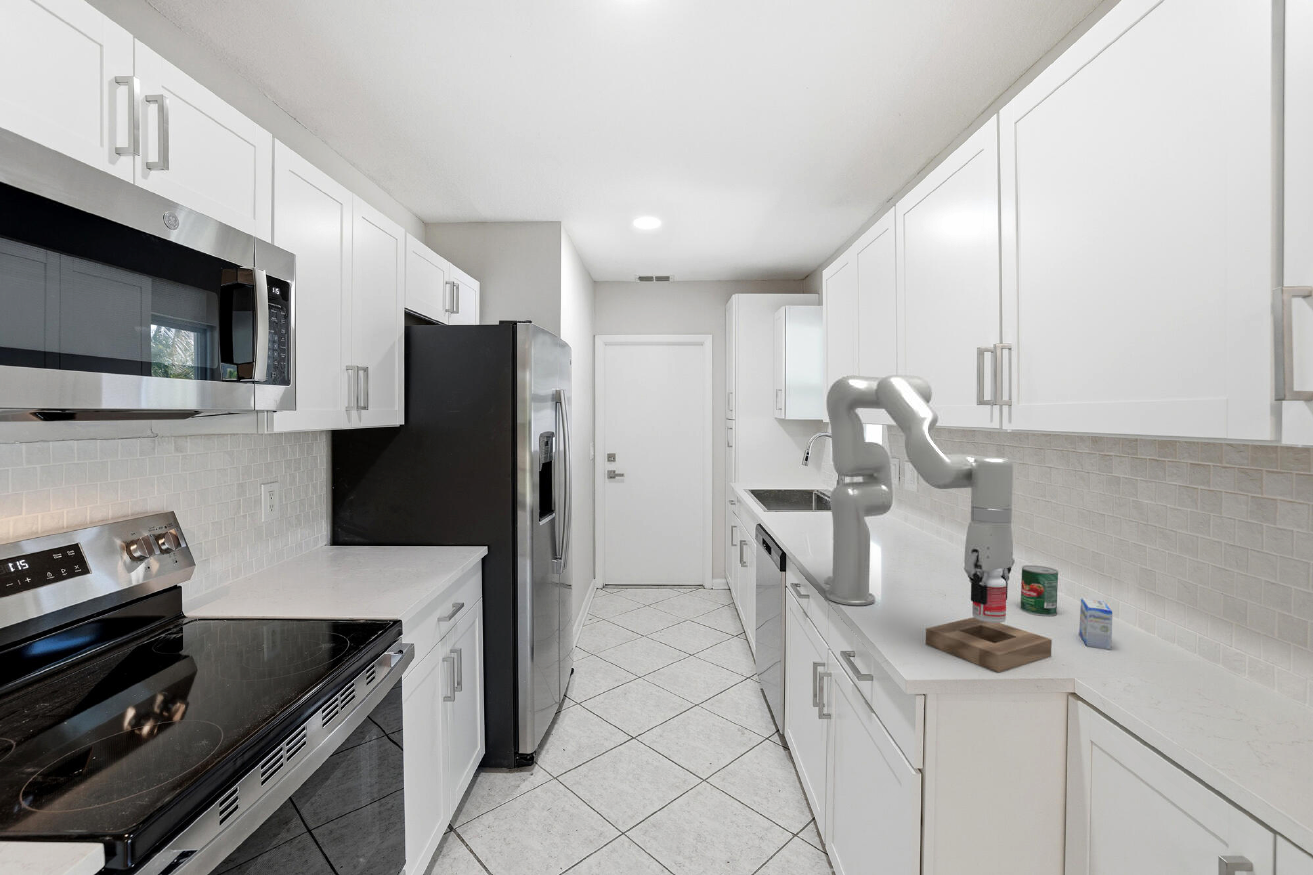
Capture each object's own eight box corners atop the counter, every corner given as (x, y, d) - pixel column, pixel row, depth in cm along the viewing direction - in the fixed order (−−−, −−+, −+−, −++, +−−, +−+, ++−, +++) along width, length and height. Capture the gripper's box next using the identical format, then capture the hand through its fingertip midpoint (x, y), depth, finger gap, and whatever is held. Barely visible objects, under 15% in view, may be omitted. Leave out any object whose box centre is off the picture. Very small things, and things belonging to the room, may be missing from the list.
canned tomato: (1015, 610, 152) (1016, 567, 152) (1027, 604, 157) (1028, 563, 156) (1050, 618, 146) (1051, 574, 145) (1061, 612, 151) (1063, 569, 150)
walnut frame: (925, 644, 128) (926, 628, 128) (977, 631, 136) (978, 616, 136) (998, 672, 114) (998, 654, 114) (1051, 655, 122) (1051, 639, 122)
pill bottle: (1011, 620, 124) (1012, 568, 123) (996, 625, 120) (997, 572, 120) (981, 612, 129) (982, 562, 129) (966, 617, 125) (967, 565, 125)
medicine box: (1078, 634, 135) (1080, 597, 134) (1102, 638, 133) (1104, 600, 132) (1086, 646, 128) (1087, 607, 127) (1111, 650, 126) (1113, 610, 125)
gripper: (998, 510, 131) (996, 590, 132) (948, 516, 123) (946, 601, 124) (1033, 515, 125) (1031, 599, 125) (982, 521, 117) (980, 611, 117)
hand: (989, 599), depth 124 cm, fingers closed on pill bottle, 6 cm apart
